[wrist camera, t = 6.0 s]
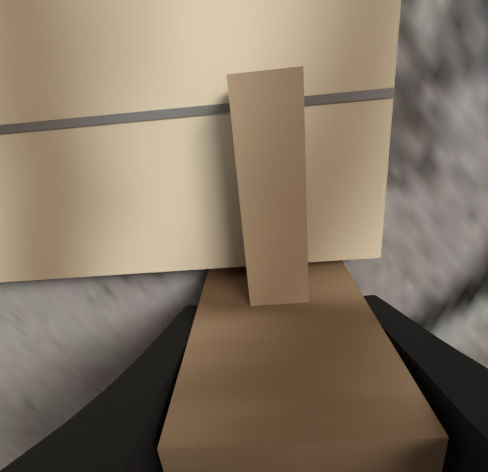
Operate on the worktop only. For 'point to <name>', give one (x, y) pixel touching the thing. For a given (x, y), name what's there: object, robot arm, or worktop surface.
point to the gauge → (289, 332)
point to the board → (180, 129)
